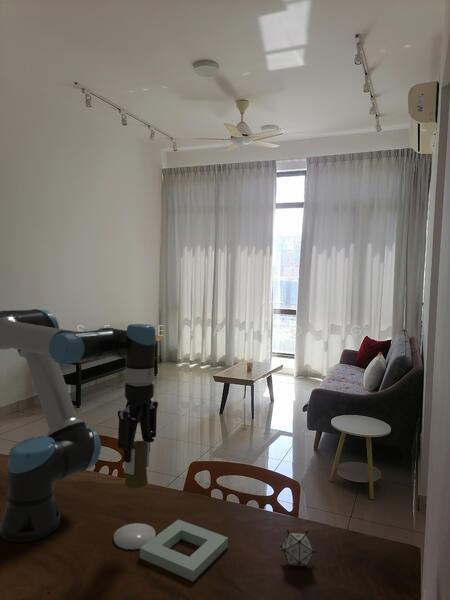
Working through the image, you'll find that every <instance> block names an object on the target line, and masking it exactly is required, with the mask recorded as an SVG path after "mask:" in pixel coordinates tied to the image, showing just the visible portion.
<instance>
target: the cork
mask: <svg viewBox="0 0 450 600" xmlns="http://www.w3.org/2000/svg"><path fill="white" fill-rule="evenodd" d="M143 441H144V440H134V444H133V448H132V449H135V460H134V474H133V475H131V474H128V473H125V480H124V486H126V488H129V489H130V488H131V489H140V488H143V487H146V486H147V485H148V483H149V482H148V481H149V480H148V471H147V467H146V460H145V454H146V452H147V444H146V443H145V442H143Z"/></svg>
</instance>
